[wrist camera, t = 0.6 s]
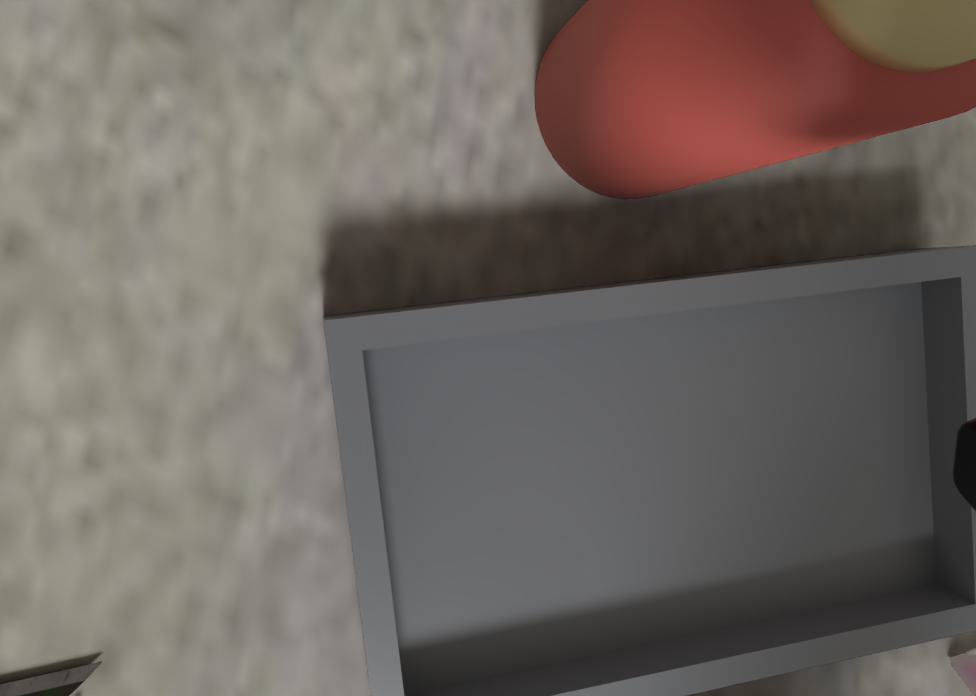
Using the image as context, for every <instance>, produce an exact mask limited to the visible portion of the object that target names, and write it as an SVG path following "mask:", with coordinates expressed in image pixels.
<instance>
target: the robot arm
mask: <svg viewBox="0 0 976 696" xmlns="http://www.w3.org/2000/svg"><path fill="white" fill-rule="evenodd" d="M952 477H953V481H954V484H955V486H956V488H957V490H958V491H959V493H960V494H961V495H962V497H963V498H964V499H965V500H966V501H967V502H968V503H969V504H970V506H971V507H972V508H973V509H974V510H975V511H976V418H974V419H972V420H969V421H967V422H965V423H963V424H962V425H961V426H960V427H959V429H958V431H957V436H956V444H955V453H954V461H953V470H952Z"/></svg>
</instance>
